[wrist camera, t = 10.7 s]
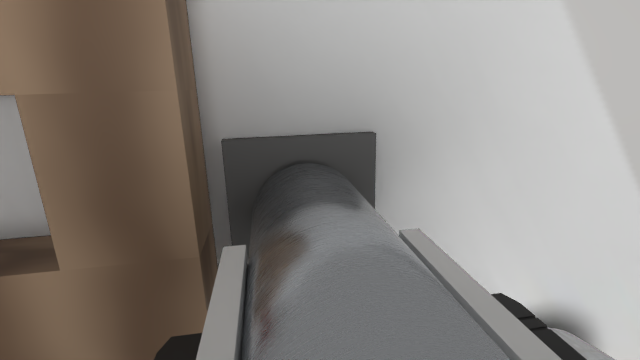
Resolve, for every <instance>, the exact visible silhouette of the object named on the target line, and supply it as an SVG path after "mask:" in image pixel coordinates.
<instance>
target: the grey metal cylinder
mask: <svg viewBox="0 0 640 360" xmlns="http://www.w3.org/2000/svg"><path fill="white" fill-rule="evenodd" d="M240 360H511V359H510V358H509V357H508V356H507V355H506V354H505V353H504V352H503V351H502V350H501V348H500V347H499V346H498V345H497V344H496V343H495V342H494V341H493V340H492V338H491V337H490V336H489V335H488V334H487V333H486V332H485V331H484V330H483V329H482V327H481V326H480V325H479V324H478V323H477V322H476V321H475V320H474V319H473V317H472V316H471V315H470V314H469V313H468V312H467V311H466V310H465V309H464V308H463V306H462V305H461V304H460V303H459V302H458V301H457V300H456V299H455V298H454V297H453V295H452V294H451V293H450V292H449V291H448V290H447V289H446V288H445V287H444V285H443V284H442V283H441V282H440V281H439V280H438V279H437V278H436V277H435V276H434V274H433V273H432V272H431V271H430V270H429V269H428V268H427V267H426V266H425V264H424V263H423V262H422V261H421V260H420V259H419V258H418V257H417V256H416V255H415V253H414V252H413V251H412V250H411V249H410V248H409V247H408V246H407V245H406V244H405V242H404V241H403V240H402V239H401V238H400V237H399V236H398V235H397V234H396V232H395V231H394V230H393V229H392V228H391V227H390V226H389V225H388V224H387V223H386V221H385V220H384V219H383V218H382V217H381V216H380V215H379V214H378V213H377V212H376V210H375V209H374V208H373V207H372V206H371V205H370V204H369V203H368V202H367V200H366V199H365V198H364V197H363V196H362V195H361V194H360V193H359V192H358V191H357V189H356V188H355V187H354V186H353V185H352V184H351V183H350V182H349V181H348V180H347V179H346V177H345V176H343V175H342V174H341V173H340V172H338V171H336V170H335V169H333V168H331V167H328V166H325V165H322V164H316V163H301V164H296V165H292V166H289V167H286V168H284V169H282V170H280V171H278V172H277V173H275V174H274V175H273V176H271V177H270V178H269V179H268V180H267V181H266V182H265V184H264V185H263V186H262V187H261V189H260V191H259V192H258V194H257V196H256V199H255V202H254V205H253V212H252V223H251V235H250V247H249V259H248V273H247V285H246V298H245V310H244V322H243V334H242V347H241V359H240Z"/></svg>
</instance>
